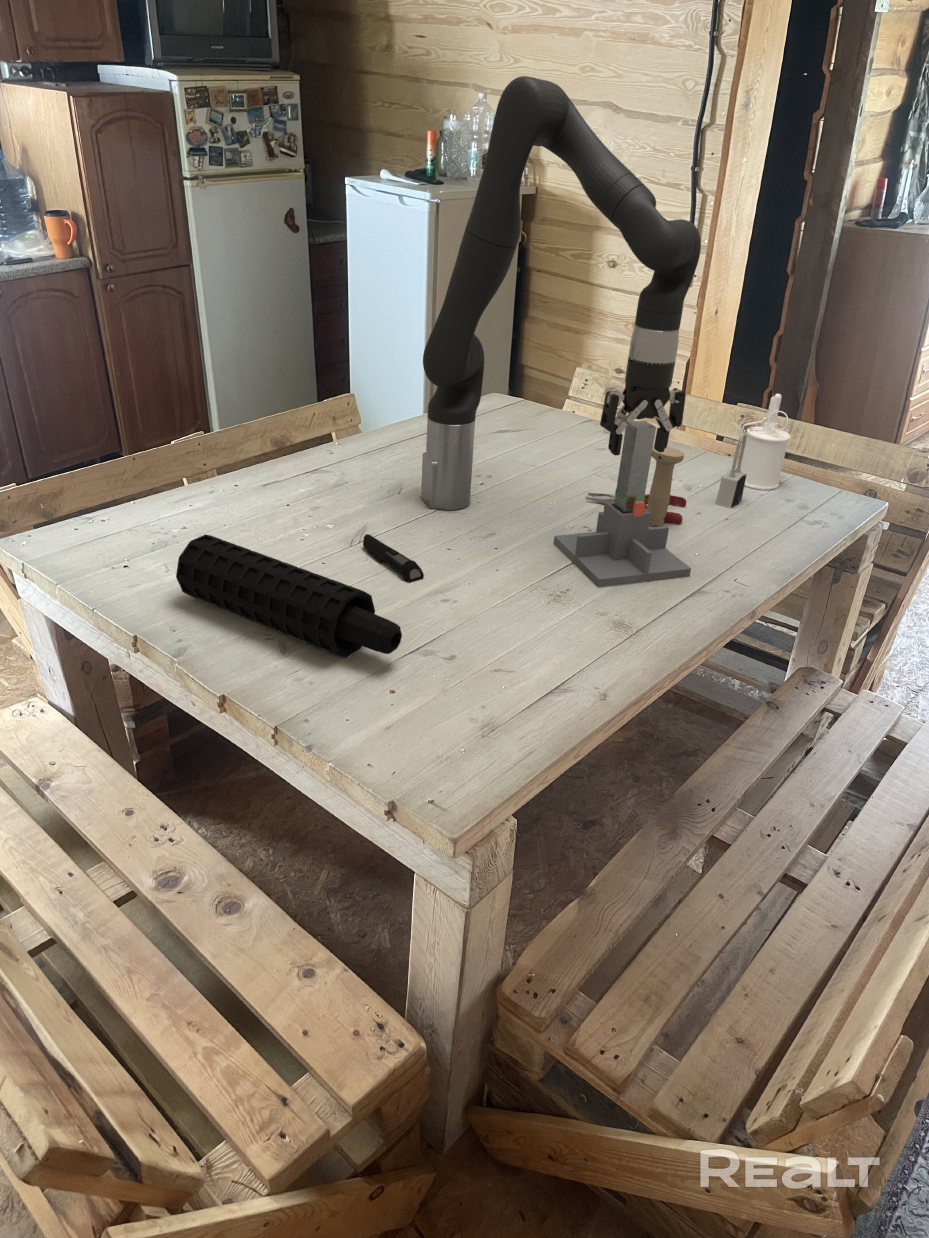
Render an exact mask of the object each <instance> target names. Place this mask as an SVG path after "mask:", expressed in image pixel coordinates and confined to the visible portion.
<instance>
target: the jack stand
mask: <svg viewBox="0 0 929 1238" xmlns="http://www.w3.org/2000/svg"><path fill="white" fill-rule="evenodd" d="M603 505H604V506H603V511H599V512H598V514H597V515H598V516H597V522H596V523H597V524H596V529H595V531H590V532H581V533H580V532H579V533H570V534H559V535H554V537H553V545H554V546H556V547H557V548H558V549H559V551H561V552H562V553H563V554H564V555H565V556H566V557H567V559H569V560H570V562H572V563H573V564H574V565H575V566H576V567H577V569H579V571H581V572H582V573H583V574H584V575H585V576H586V577H587V578H588V579H589V580H590V581H591V582H592V583H593V584H594V585H595V586H596V587H598V588H604V587H610V586H612V587H613V586H619V585H620V586H621V585H628V584H636V583H637V584H638V583H644V582H645V583H646V582H653V581H660V580H661V581H662V580H671V579H678V578H679V579H680V578H684V577H690V576H691V571H692V568H691V567H690V566H688V564H686V563H685V562H683V560H681V559H680V558H678V556H676V554H674V553H673V552H671V551H670V550H669V549H667V548H666V546H667V543H668V542H667V541H668V537H669V532H670V527H669V526H666V525H664V526H663V525H662V526H659V527H656V526H652V527H650V519H651V514H652V513H651V512H650V511H648V510H647V509H646V508H644V506H645V502H643V501H638V502H634V508H633V513H625V514H623V513H621V512H620V511H619V510H618V509H616V508H615V507H614V502H607V503H605V504H603Z"/></svg>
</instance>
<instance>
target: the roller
mask: <svg viewBox="0 0 929 1238" xmlns="http://www.w3.org/2000/svg"><path fill="white" fill-rule="evenodd" d="M175 578H176V580H177V581H176V582H177V583H178V585H179V587H180V589H181V592H182V593H184V594H185V595H188V596H190V597H192V598H195V599H197V600H199V601H202V602H205V603H207V604H209V605H212V606H214V607H217V608H218V609H219V608H220V609H222V610H224V611H227V612H230V613H232V614H234V615H236V616H238V617H242V618H244V619H246V620H248V621H251V622H254V623H257V624H259V625H261V626H263V627H265V628H268V629H270V630H274V631H275V632H278V633H280V634H283V635H285V636H288V637H291V638H292V639H295V640H298V641H300V642H303V643H305V644H307V645H310V646H312V647H315V648H317V649H320V650H323V651H325V652H326V653H327V652H328V653H330V654H332V655H334V656H337V657H340V658H341V657H342V658H346V659H347V658H349V657H351V656H352V655H354V654H355V653H357V652H358V651H359V650H361V649H362V648H366V649H369V650H372V651H374V652H377V653H381V654H385V655H391V654H392V653H393V652H395V651H396V650H397V649H398V648H399V645H400V644H401V641H402V637H403V634H402V630H401V626H400V624H398V623H396V622H394V621H392V620H390V619H387V618H385V617H383V616H380V615H378V614H375V612H376V609H375V605H374V601H373V597H372V596H373V595H371V594H370V593H368V592H366V591H364V590H362V589H360V588H357V587H354V586H352V585H348V584H345V583H344V582H340V581H337V580H335V579H331V578H329V577H327V576H323V575H321V574H319V573H314V572H313V571H311V570H307V569H304V568H302V567H299V566H295V565H293V564H290V563H288V562H285V561H282V560H279V559H276V558H274V557H272V556H267V555H266V554H263V553H260V552H257V551H255V550H251V549H249V548H246V547H245V546H244V547H243V546H240V545H237V544H235V543H232V542H231V541H227V540H224V539H221V538H219V537H216V536H214V535H210V534H204V535H201V536H198V537H197V538H196V537H195V538H194V539H192V540H190V541H189V542H188V544H187V545H186V546H185V548H184V549H183V550H182V552H181V554H180V555H179V556H178V561H177V569H176V573H175Z"/></svg>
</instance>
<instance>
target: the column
mask: <svg viewBox="0 0 929 1238" xmlns="http://www.w3.org/2000/svg"><path fill="white" fill-rule="evenodd" d="M656 433H657V427H656V426H655V425H653V423H652V424H651V422H648V421H646V420H636V421H635V420H634V421H633V422H632V423H631V424H629V425H627V427H626V428H625V429H624V434H623V441H622V447H621V449H622V450H621V454H620V455H621V456H620V464H619V469H618V476H617V481H616V482H617V483H616V488H615V493H614V494H615V501H614V507H615V508H616V509H618V510H619V511H620V512H621V513H623V514H625V513H633V508H634V502H638V501H643V502H644V499H645V494H646V489H647V484H648V478H649V473H650V472H649V471H650V466H651V462H652V461H651V460H652V456H651V455H652V449H653V447H654V444H655V439H656Z"/></svg>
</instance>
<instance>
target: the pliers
mask: <svg viewBox="0 0 929 1238" xmlns="http://www.w3.org/2000/svg"><path fill="white" fill-rule="evenodd" d="M649 494H650V493H649ZM649 494H646V493H645V499H644V502H645V506H644V508H646V509H647V508H648V499H649ZM587 495H588V496H585V497H584V498H585V499H586V500H589V501H593V502H597V503H599V504H603V505H604V504H605V503H607V502H614V501H615V493H602V492H601V493H599V492H597V493H596V492H595V493H593V492H588V493H587ZM668 506H672V507H678V508H684V509H685V508H686V506H687V499H686V498H685V497H682V496H679V495H673V494H670V500H669V504H668ZM663 519H664V523H665V524H670V525H681V524H682V523H683V515H682V514H680V513H678V512H672V511H667V512H666V515H665V518H663ZM664 523H663V524H664Z"/></svg>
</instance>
